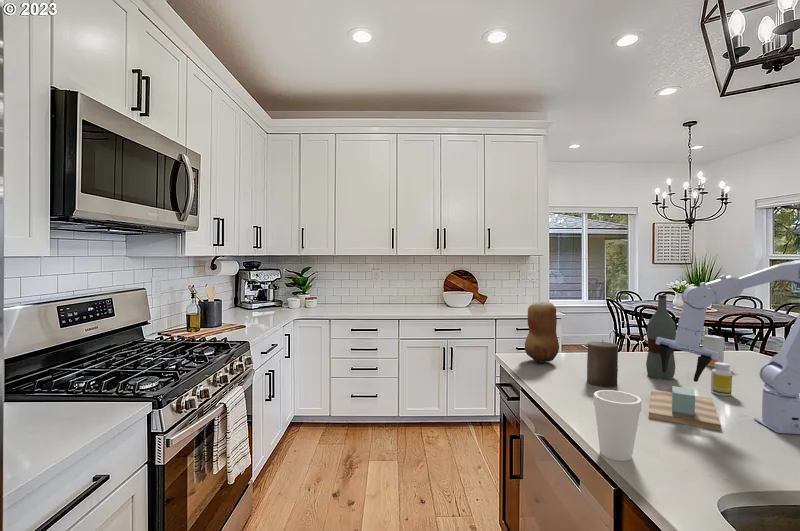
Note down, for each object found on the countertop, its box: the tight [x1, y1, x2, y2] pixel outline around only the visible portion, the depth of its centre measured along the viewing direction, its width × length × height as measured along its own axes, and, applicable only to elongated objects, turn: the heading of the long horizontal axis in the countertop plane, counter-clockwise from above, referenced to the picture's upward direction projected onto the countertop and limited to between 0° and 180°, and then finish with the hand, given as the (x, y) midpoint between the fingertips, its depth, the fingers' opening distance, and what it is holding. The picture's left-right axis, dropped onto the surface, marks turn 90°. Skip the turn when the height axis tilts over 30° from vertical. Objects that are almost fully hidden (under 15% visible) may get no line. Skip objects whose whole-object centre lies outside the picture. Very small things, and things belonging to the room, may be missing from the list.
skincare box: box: [702, 334, 725, 368], centre depth 176 cm, size 6×4×12 cm
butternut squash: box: [524, 301, 560, 364], centre depth 179 cm, size 14×13×25 cm
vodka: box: [645, 294, 677, 380], centre depth 160 cm, size 9×9×30 cm
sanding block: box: [671, 385, 696, 419], centre depth 119 cm, size 7×5×6 cm
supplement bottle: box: [710, 362, 733, 397], centre depth 140 cm, size 5×5×10 cm
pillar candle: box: [586, 339, 619, 388], centre depth 151 cm, size 10×10×15 cm
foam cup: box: [593, 389, 642, 462], centre depth 97 cm, size 10×9×13 cm
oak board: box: [648, 388, 722, 432], centre depth 125 cm, size 24×16×2 cm, turn 149°
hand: (679, 376), depth 122 cm, fingers open, 7 cm apart
